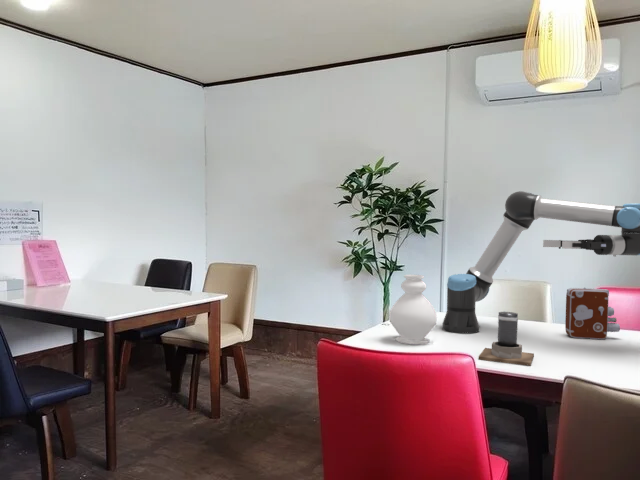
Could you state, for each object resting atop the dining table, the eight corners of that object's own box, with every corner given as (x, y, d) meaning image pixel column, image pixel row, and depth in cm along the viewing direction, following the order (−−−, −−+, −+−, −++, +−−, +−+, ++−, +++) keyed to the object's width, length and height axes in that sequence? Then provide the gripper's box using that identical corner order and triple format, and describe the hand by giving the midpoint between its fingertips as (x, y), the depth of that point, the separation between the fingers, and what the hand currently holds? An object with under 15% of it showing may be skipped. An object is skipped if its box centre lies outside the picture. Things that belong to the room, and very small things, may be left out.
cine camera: (623, 341, 200) (624, 290, 199) (569, 338, 204) (571, 288, 203) (614, 336, 209) (616, 288, 208) (563, 334, 213) (565, 286, 212)
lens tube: (495, 355, 169) (497, 313, 169) (498, 351, 175) (499, 311, 174) (515, 358, 167) (516, 315, 166) (517, 354, 172) (518, 312, 172)
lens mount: (478, 359, 168) (478, 345, 168) (485, 350, 181) (485, 337, 180) (530, 366, 161) (531, 351, 161) (533, 356, 173) (534, 343, 173)
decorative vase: (380, 337, 200) (382, 273, 199) (419, 334, 206) (421, 273, 205) (404, 347, 183) (405, 278, 182) (445, 344, 189) (447, 277, 189)
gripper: (629, 256, 179) (571, 256, 177) (587, 253, 204) (536, 252, 202) (630, 235, 179) (571, 234, 177) (588, 234, 203) (536, 233, 202)
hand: (552, 244), depth 190 cm, fingers open, 13 cm apart
